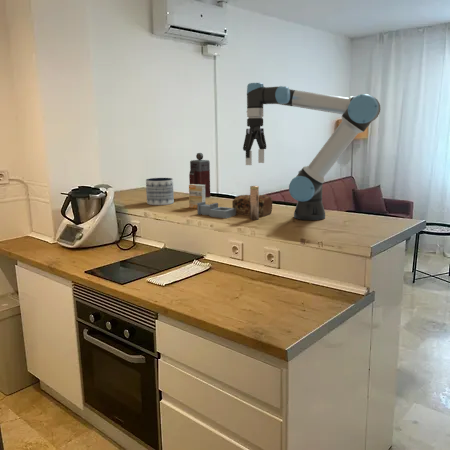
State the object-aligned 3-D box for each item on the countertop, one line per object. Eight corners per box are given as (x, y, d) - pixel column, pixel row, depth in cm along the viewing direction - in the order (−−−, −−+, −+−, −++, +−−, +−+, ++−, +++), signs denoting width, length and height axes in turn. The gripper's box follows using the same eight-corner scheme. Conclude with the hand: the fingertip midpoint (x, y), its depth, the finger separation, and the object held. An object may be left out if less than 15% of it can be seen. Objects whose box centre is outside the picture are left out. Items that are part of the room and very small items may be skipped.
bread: (272, 213, 240) (273, 194, 238) (262, 217, 232) (262, 197, 229) (242, 210, 250) (242, 192, 248) (231, 213, 242) (231, 194, 240)
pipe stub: (252, 217, 229) (252, 185, 226) (260, 218, 227) (260, 186, 224) (248, 219, 226) (248, 186, 223) (256, 220, 224) (256, 187, 221)
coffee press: (188, 197, 298) (186, 153, 292) (200, 195, 306) (199, 152, 300) (198, 198, 292) (196, 153, 286) (210, 196, 300) (209, 152, 295)
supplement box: (188, 208, 259) (188, 184, 257) (192, 206, 264) (192, 183, 261) (202, 209, 256) (201, 185, 254) (206, 207, 261) (205, 184, 258)
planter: (179, 202, 280) (178, 178, 277) (162, 206, 267) (161, 181, 264) (158, 200, 288) (157, 177, 285) (141, 204, 275) (140, 180, 272)
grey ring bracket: (205, 211, 247) (205, 201, 246) (236, 215, 237) (236, 203, 236) (195, 215, 239) (195, 203, 238) (226, 218, 230) (226, 206, 228)
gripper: (259, 118, 228) (259, 161, 232) (235, 117, 206) (235, 165, 211) (273, 117, 224) (273, 162, 229) (250, 117, 203) (250, 166, 207)
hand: (255, 164), depth 220 cm, fingers open, 13 cm apart
